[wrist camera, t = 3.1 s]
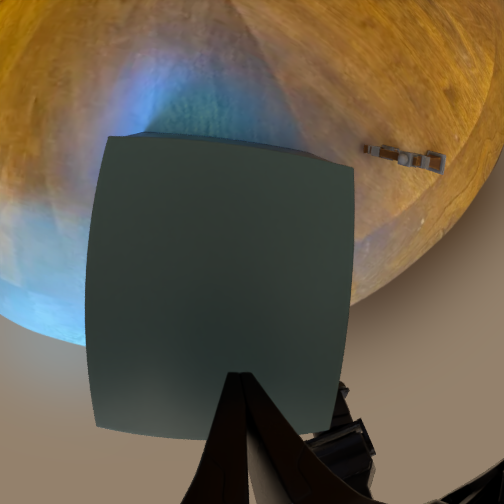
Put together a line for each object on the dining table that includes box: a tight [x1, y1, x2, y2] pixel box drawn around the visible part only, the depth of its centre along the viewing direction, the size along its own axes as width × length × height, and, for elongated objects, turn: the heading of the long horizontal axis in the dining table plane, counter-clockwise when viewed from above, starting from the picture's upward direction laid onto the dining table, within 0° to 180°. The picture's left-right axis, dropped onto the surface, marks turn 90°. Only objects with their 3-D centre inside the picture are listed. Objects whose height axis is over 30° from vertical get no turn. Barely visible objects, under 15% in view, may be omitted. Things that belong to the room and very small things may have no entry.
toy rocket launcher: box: [364, 145, 446, 175], centre depth 18 cm, size 2×8×4 cm, turn 88°
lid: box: [85, 136, 354, 440], centre depth 11 cm, size 13×12×1 cm
